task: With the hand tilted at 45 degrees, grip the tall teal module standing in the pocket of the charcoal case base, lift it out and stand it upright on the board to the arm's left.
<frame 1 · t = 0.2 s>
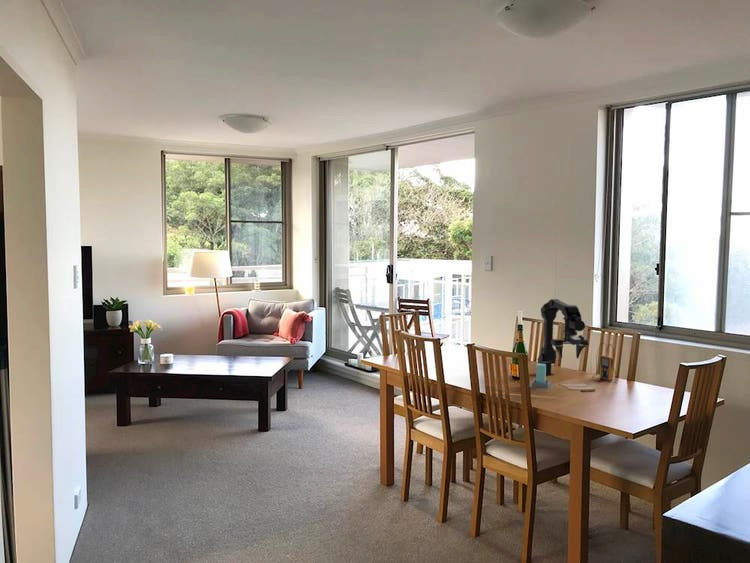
hand: (569, 358, 309), 15 cm above the table, tool pointing down, fingers open, 9 cm apart
module: (540, 385, 307), point 1 cm above the table, touching case base
board: (576, 388, 304), on the table
case base: (540, 387, 307), on the table
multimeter: (601, 380, 324), on the table
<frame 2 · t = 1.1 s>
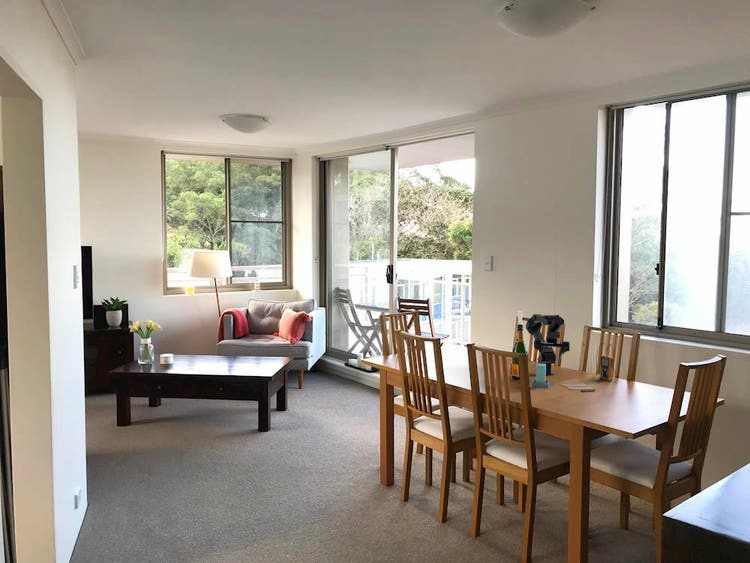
hand: (550, 358, 317), 13 cm above the table, tool tilted 45°, fingers open, 9 cm apart
nothing on the table moved.
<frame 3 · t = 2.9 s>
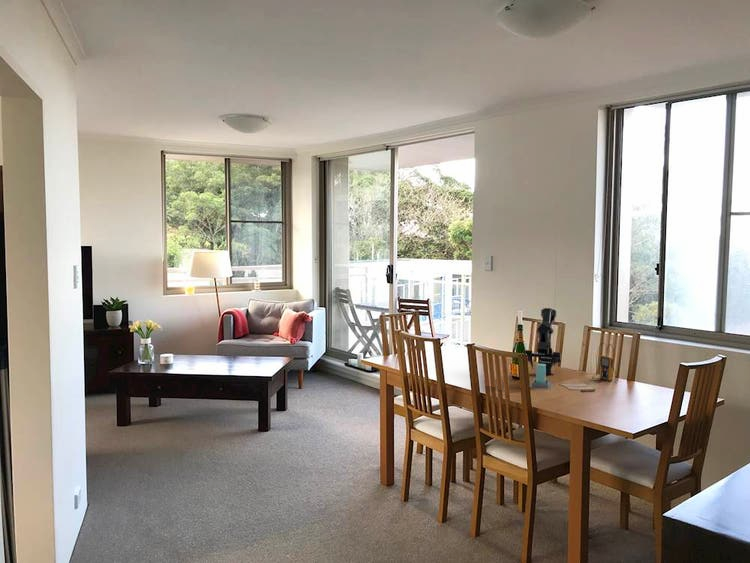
hand: (541, 369, 308), 9 cm above the table, tool tilted 45°, fingers open, 9 cm apart
nothing on the table moved.
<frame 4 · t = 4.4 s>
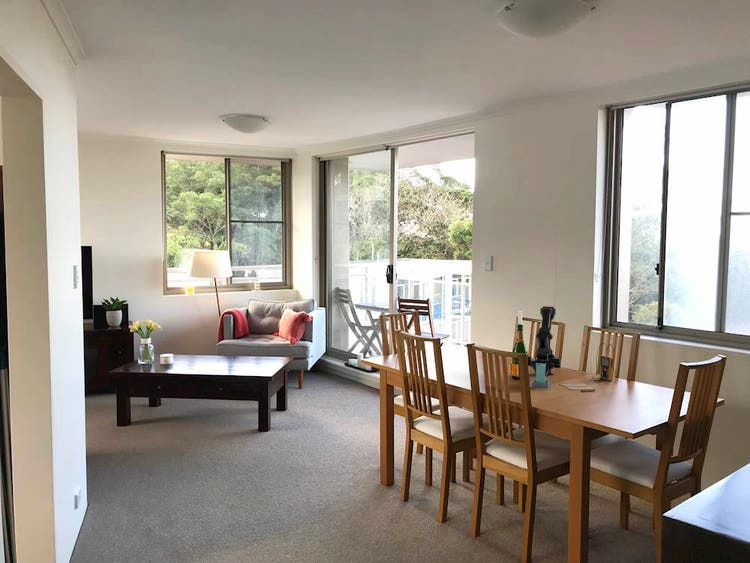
hand: (540, 375, 305), 7 cm above the table, tool tilted 45°, fingers closed on module, 4 cm apart
module: (540, 385, 307), point 1 cm above the table, touching case base, gripper
everything else where it was.
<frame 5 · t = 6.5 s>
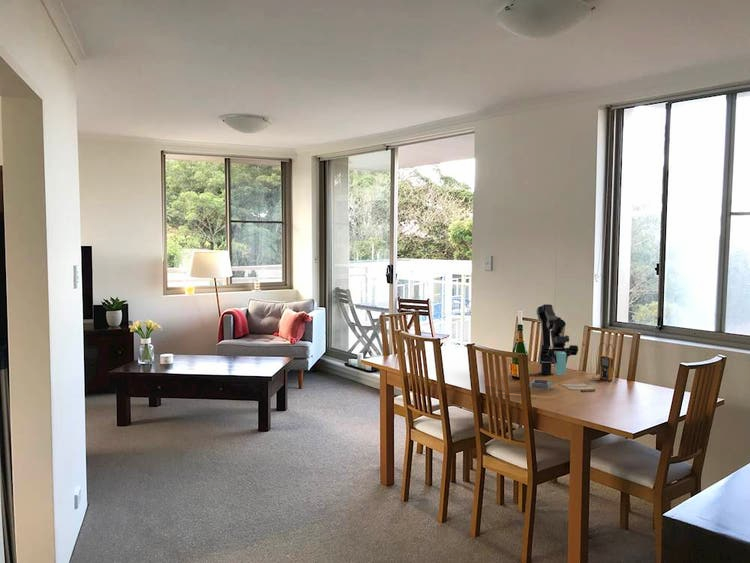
hand: (561, 363, 302), 13 cm above the table, tool tilted 45°, fingers closed on module, 4 cm apart
module: (560, 373, 304), point 8 cm above the table, touching gripper
everything else where it was.
when the fingers open (8 cm above the table, at t = 8.8 s): module drops 1 cm, resting on board.
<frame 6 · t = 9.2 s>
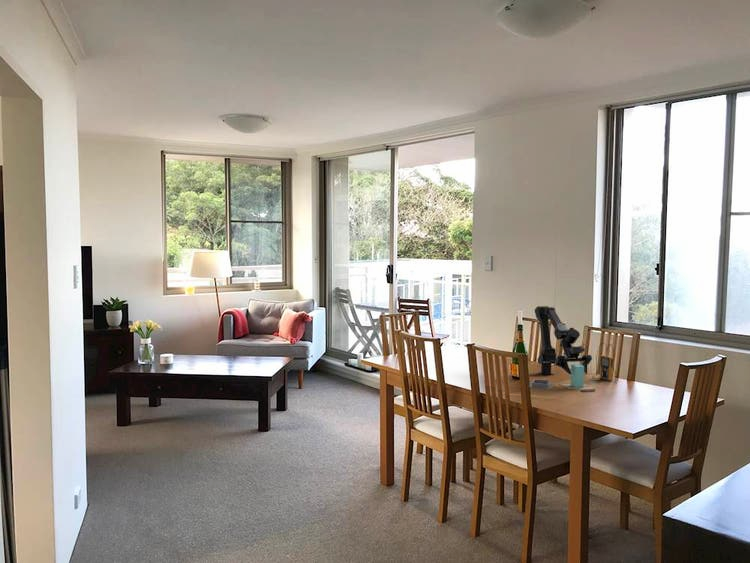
hand: (578, 373, 303), 8 cm above the table, tool tilted 45°, fingers open, 9 cm apart
module: (577, 386, 304), point 1 cm above the table, touching board
everything else where it was.
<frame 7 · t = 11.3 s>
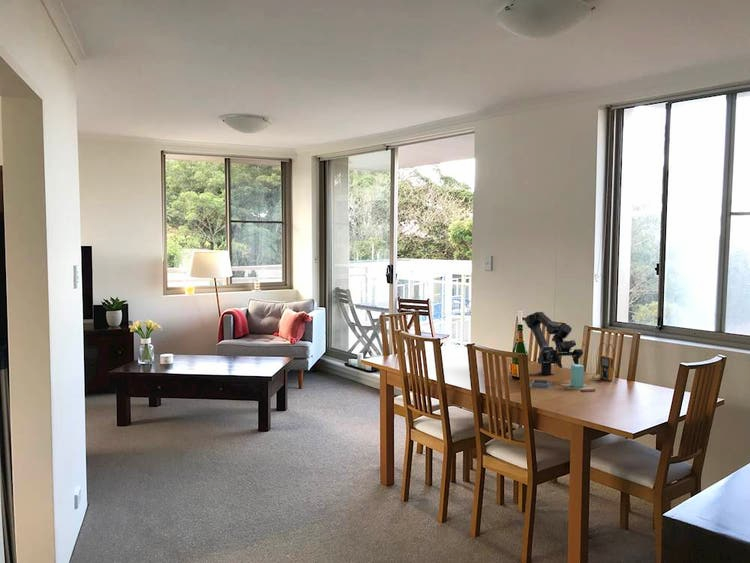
hand: (569, 367, 312), 9 cm above the table, tool tilted 45°, fingers open, 9 cm apart
nothing on the table moved.
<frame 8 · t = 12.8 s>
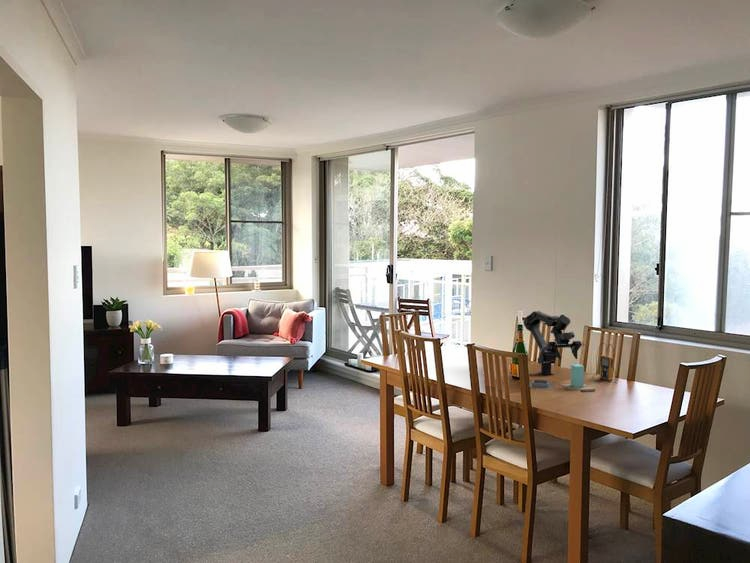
hand: (568, 359, 313), 14 cm above the table, tool tilted 45°, fingers open, 9 cm apart
nothing on the table moved.
at the end: module inside the target area on the board (0.1 cm from its centre), point 1.2 cm above the board's base; module tilted 0°; the gripper is holding nothing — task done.
